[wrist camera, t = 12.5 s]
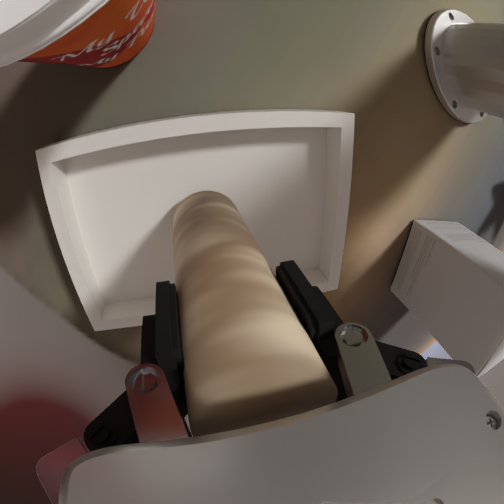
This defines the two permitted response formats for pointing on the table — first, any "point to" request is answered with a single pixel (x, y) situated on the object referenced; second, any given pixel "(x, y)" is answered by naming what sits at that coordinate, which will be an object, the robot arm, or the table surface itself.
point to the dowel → (238, 326)
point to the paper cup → (74, 31)
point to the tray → (191, 181)
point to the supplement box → (455, 290)
